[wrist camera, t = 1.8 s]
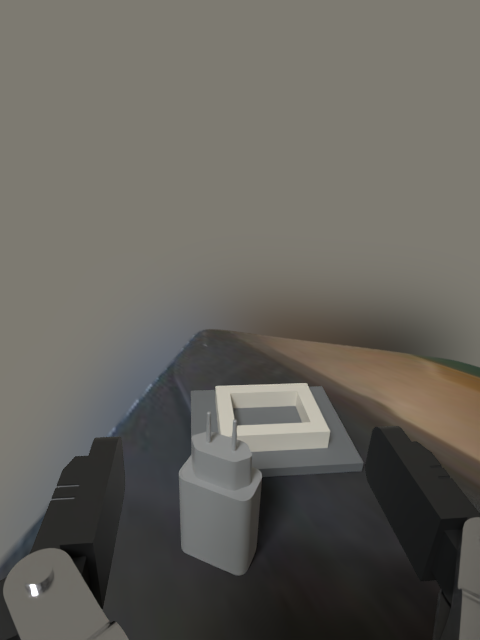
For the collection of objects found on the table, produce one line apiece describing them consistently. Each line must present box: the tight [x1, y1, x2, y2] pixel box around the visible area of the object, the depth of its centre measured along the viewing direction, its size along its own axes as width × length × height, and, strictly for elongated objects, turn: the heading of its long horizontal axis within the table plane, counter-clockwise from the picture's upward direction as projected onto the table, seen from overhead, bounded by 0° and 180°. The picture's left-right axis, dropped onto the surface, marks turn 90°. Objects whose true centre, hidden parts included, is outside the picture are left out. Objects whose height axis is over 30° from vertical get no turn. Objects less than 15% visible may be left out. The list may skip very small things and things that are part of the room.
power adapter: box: [179, 412, 262, 575], centre depth 28 cm, size 3×5×12 cm, turn 67°
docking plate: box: [191, 383, 363, 477], centre depth 42 cm, size 16×13×3 cm
